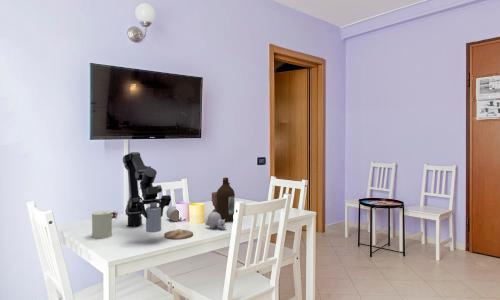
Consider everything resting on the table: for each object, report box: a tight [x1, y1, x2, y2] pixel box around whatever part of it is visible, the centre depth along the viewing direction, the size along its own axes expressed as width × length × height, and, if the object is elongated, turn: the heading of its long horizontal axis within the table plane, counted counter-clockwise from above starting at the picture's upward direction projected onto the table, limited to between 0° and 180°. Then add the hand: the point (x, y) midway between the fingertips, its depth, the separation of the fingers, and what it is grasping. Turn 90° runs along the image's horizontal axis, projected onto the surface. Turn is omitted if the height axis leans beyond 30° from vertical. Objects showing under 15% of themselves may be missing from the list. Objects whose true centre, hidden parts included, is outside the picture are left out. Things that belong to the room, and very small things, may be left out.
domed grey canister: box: [145, 202, 162, 233], centre depth 167 cm, size 7×7×13 cm
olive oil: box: [216, 177, 236, 223], centre depth 210 cm, size 11×11×25 cm
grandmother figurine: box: [112, 210, 119, 218], centre depth 214 cm, size 8×4×13 cm
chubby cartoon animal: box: [205, 211, 227, 231], centre depth 191 cm, size 7×12×8 cm, turn 55°
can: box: [91, 210, 113, 239], centre depth 176 cm, size 9×9×12 cm
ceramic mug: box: [165, 205, 180, 222], centre depth 210 cm, size 11×8×8 cm
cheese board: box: [163, 228, 194, 240], centre depth 178 cm, size 14×14×4 cm
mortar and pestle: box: [211, 181, 231, 213], centre depth 230 cm, size 12×9×20 cm
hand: (154, 217), depth 166 cm, fingers closed on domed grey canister, 7 cm apart
